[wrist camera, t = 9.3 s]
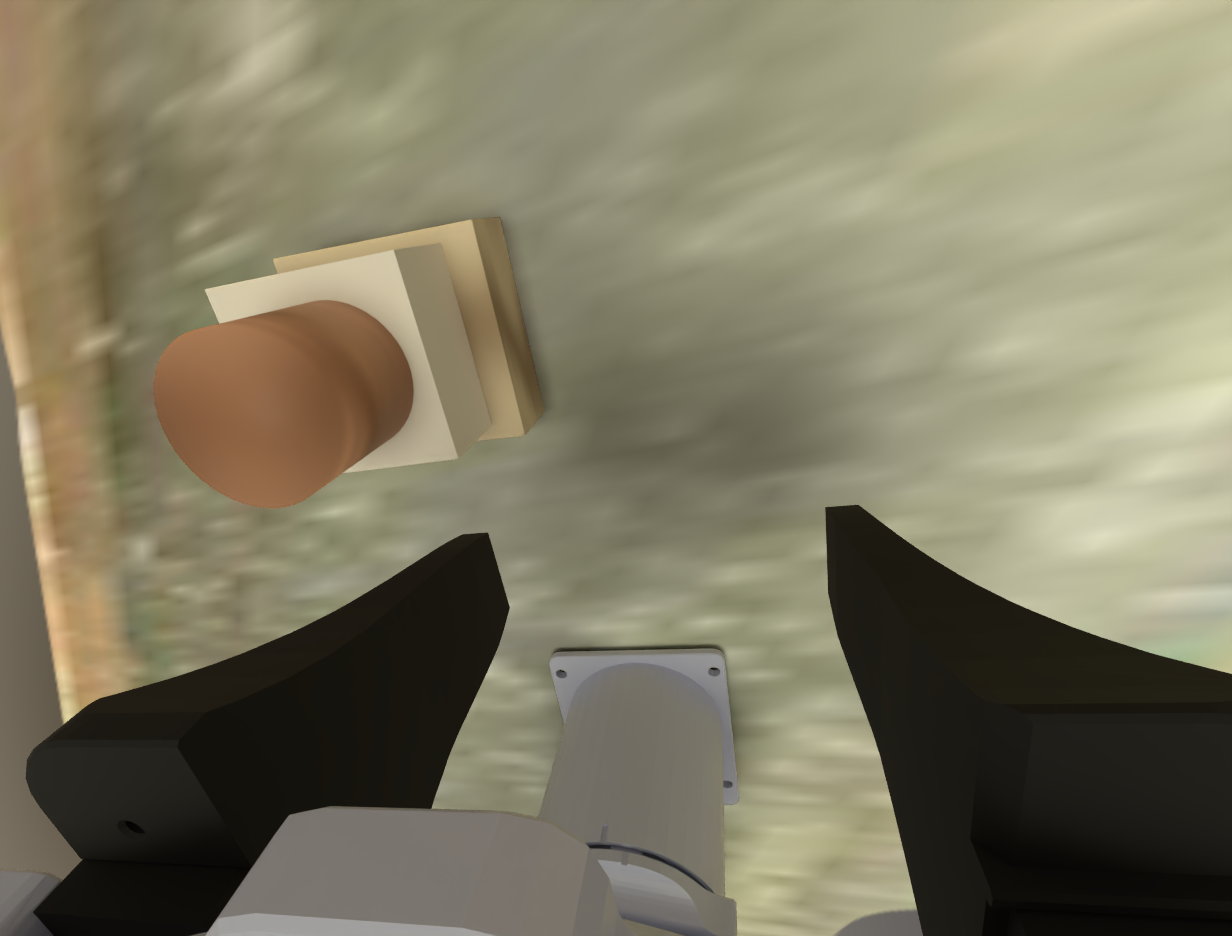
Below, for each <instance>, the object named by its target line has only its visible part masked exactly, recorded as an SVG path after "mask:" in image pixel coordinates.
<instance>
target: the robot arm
mask: <svg viewBox="0 0 1232 936" xmlns="http://www.w3.org/2000/svg"><path fill="white" fill-rule="evenodd" d="M825 509H826V539H827V569H828V594H829V598H830V603H831V608H832V612H833V617H834V622H835V626H836V630H837V635H838V638H839V641H840V644H841V646H842V649H843V652H844V655H845V658H846V660H847V663H848V666H849V669H850V671H851V674H852V677H853V680H854V682H855V685H856V688H857V691H858V693H859V696H860V699H861V701H862V704H863V707H864V710H865V712H866V715H867V718H868V721H869V723H870V726H871V729H872V732H873V734H874V738H875V741H876V744H877V747H878V750H879V754H880V757H881V761H882V765H883V769H884V773H885V777H886V781H887V785H888V788H889V792H890V796H891V800H892V804H893V808H894V813H895V817H896V821H897V825H898V829H899V833H900V838H901V842H902V846H903V850H904V854H905V858H906V863H907V867H908V871H909V876H910V880H911V884H912V889H913V893H914V898H915V902H916V906H917V911H918V915H919V920H920V924H921V928H922V933H923V936H1232V674H1229V673H1225V672H1221V671H1217V670H1213V669H1209V668H1206V667H1202V666H1198V665H1194V664H1190V663H1186V662H1182V661H1178V660H1174V659H1170V658H1167V657H1163V656H1159V655H1156V654H1152V653H1149V652H1145V651H1142V650H1139V649H1136V648H1133V647H1130V646H1127V645H1123V644H1120V643H1117V642H1114V641H1111V640H1108V639H1105V638H1101V637H1099V636H1096V635H1093V634H1090V633H1087V632H1085V631H1082V630H1079V629H1076V628H1073V627H1071V626H1068V625H1066V624H1063V623H1061V622H1058V621H1056V620H1053V619H1051V618H1048V617H1046V616H1043V615H1041V614H1038V613H1036V612H1033V611H1031V610H1029V609H1026V608H1024V607H1022V606H1020V605H1017V604H1015V603H1013V602H1011V601H1008V600H1006V599H1004V598H1002V597H1000V596H998V595H996V594H994V593H992V592H990V591H988V590H986V589H984V588H982V587H980V586H978V585H976V584H975V583H973V582H971V581H969V580H967V579H965V578H964V577H962V576H960V575H958V574H957V573H955V572H953V571H952V570H950V569H949V568H947V567H945V566H944V565H942V564H940V563H939V562H937V561H935V560H934V559H932V558H931V557H929V556H928V555H926V554H925V553H923V552H922V551H920V550H919V549H917V548H916V547H914V546H913V545H911V544H910V543H909V542H907V541H906V540H904V539H903V538H902V537H900V536H899V535H897V534H896V533H895V532H893V531H892V530H891V529H889V528H888V527H887V526H885V525H884V524H883V523H881V522H880V521H879V520H877V519H876V518H875V517H874V516H872V515H871V514H870V513H868V512H867V511H866V510H864V509H863V508H862V507H860V506H859V505H849V506H836V507H825ZM509 608H510V607H509V604H508V600H507V597H506V593H505V590H504V586H503V583H502V579H501V576H500V572H499V569H498V566H497V562H496V559H495V555H494V552H493V548H492V545H491V541H490V538H489V534H488V533H476V534H463V535H461V536H459V537H457V538H454V539H453V540H451V541H449V542H447V543H445V544H444V545H442V546H440V547H439V548H437V549H436V550H434V551H432V552H431V553H429V554H428V555H426V556H424V557H423V558H421V559H420V560H418V561H417V562H415V563H414V564H412V565H410V566H409V567H407V568H406V569H404V570H403V571H401V572H400V573H398V574H396V575H395V576H393V577H392V578H390V579H389V580H387V581H385V582H384V583H382V584H380V585H379V586H377V587H375V588H374V589H372V590H370V591H369V592H367V593H365V594H364V595H362V596H360V597H359V598H357V599H355V600H354V601H352V602H350V603H349V604H347V605H345V606H343V607H341V608H340V609H338V610H336V611H334V612H332V613H330V614H328V615H326V616H324V617H322V618H320V619H318V620H316V621H314V622H312V623H310V624H308V625H306V626H304V627H302V628H300V629H298V630H296V631H294V632H292V633H289V634H287V635H285V636H282V637H280V638H278V639H275V640H273V641H271V642H268V643H266V644H264V645H261V646H259V647H257V648H254V649H252V650H250V651H247V652H245V653H242V654H240V655H237V656H234V657H232V658H229V659H226V660H224V661H221V662H218V663H216V664H213V665H210V666H207V667H204V668H201V669H198V670H195V671H192V672H189V673H186V674H183V675H180V676H177V677H174V678H171V679H167V680H164V681H160V682H157V683H153V684H150V685H146V686H143V687H139V688H136V689H132V690H129V691H125V692H122V693H118V694H115V695H111V696H107V697H103V698H100V699H98V700H96V701H94V702H92V703H91V704H89V705H87V706H86V707H85V708H84V709H82V710H81V711H80V712H79V713H77V714H76V715H75V716H74V717H72V718H71V719H70V720H69V721H67V722H66V723H65V724H64V725H63V726H61V727H60V728H59V729H58V730H56V731H55V732H54V733H53V734H51V735H50V736H49V737H48V738H47V739H46V740H44V741H43V742H42V743H40V744H39V745H38V746H37V747H36V748H34V749H33V751H32V753H31V754H30V756H29V757H28V759H27V768H26V780H27V783H28V786H29V789H30V792H31V794H32V795H33V797H34V799H35V800H36V802H37V803H38V805H39V806H40V808H41V809H42V810H43V812H44V813H45V814H46V815H47V817H48V818H49V819H50V820H51V822H52V823H53V824H54V825H55V827H56V828H57V829H58V831H59V832H60V833H61V834H62V836H63V837H64V838H65V839H66V841H67V842H68V843H69V844H70V846H71V847H72V848H73V849H74V851H75V852H76V853H77V855H78V856H79V857H80V858H81V859H83V860H82V861H81V862H80V863H79V864H78V865H77V866H76V867H75V868H74V869H73V870H72V871H71V872H70V874H69V875H68V876H67V877H66V878H65V879H64V880H62V879H60V878H59V877H57V876H55V875H53V874H51V873H47V872H43V871H33V870H16V869H0V936H737V911H736V902H735V901H734V900H733V899H730V898H726V897H725V866H724V807H723V805H733V804H736V803H737V802H738V801H739V788H738V779H737V770H736V760H735V751H734V741H733V732H732V723H731V713H730V704H729V694H728V685H727V676H726V666H725V657H724V654H723V653H722V652H721V651H720V650H717V649H712V648H711V649H665V650H620V651H574V652H556V653H554V654H552V656H551V658H550V661H549V667H550V670H551V674H552V678H553V682H554V686H555V690H556V694H557V698H558V702H559V706H560V710H561V714H562V718H563V722H564V728H563V732H562V736H561V739H560V743H559V746H558V750H557V753H556V757H555V760H554V764H553V767H552V771H551V774H550V778H549V781H548V785H547V788H546V792H545V795H544V799H543V802H542V806H541V809H540V813H539V816H538V817H533V816H529V815H524V814H519V813H514V812H509V811H489V810H453V809H431V808H432V805H433V801H434V798H435V795H436V792H437V789H438V786H439V784H440V781H441V778H442V775H443V772H444V769H445V766H446V763H447V760H448V757H449V755H450V752H451V750H452V747H453V745H454V742H455V740H456V738H457V735H458V733H459V731H460V729H461V727H462V724H463V722H464V720H465V718H466V716H467V714H468V712H469V709H470V707H471V705H472V703H473V701H474V699H475V697H476V695H477V692H478V690H479V688H480V686H481V684H482V682H483V680H484V678H485V675H486V673H487V671H488V669H489V667H490V664H491V662H492V660H493V658H494V656H495V653H496V651H497V649H498V646H499V643H500V640H501V637H502V634H503V630H504V627H505V623H506V620H507V616H508V612H509ZM712 667H715V668H718V670H711V669H710V668H712ZM559 670H564V671H565V672H561V671H559ZM726 780H727V781H726Z"/></svg>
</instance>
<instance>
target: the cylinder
mask: <svg viewBox="0 0 1232 936" xmlns="http://www.w3.org/2000/svg"><path fill="white" fill-rule="evenodd" d="M413 392H414V391H413V380H412V375H411V370H410V367H409V364H408V361H407V359H406V357H405V355H404V352H403V351H402V349H401V347H400V346H399V344H398V342H397V341H396V340H395V338H394V337H393V336H392V334H391V333H390V332H389V331H388V330H387V329H386V328H385V327H384V326H383V325H382V324H381V323H380V322H379V321H378V320H376V319H375V318H374V317H372V316H371V315H369V314H368V313H367V312H365V311H363V310H361V309H359V308H357V307H355V306H352V305H350V304H347V303H343V302H339V301H331V300H318V301H313V302H308V303H304V304H300V305H296V306H291V307H287V308H283V309H279V310H275V311H270V312H266V313H262V314H258V315H254V316H249V317H245V318H241V319H237V320H233V321H229V322H224V323H220V324H216V325H212V326H208V327H203V328H199V329H195V330H192V331H190V332H187V333H185V334H183V335H181V336H180V337H178V338H176V339H175V340H174V341H173V342H172V343H171V344H170V345H169V346H168V347H167V348H166V350H165V351H164V352H163V354H162V356H161V358H160V360H159V362H158V365H157V368H156V371H155V377H154V400H155V406H156V410H157V414H158V418H159V420H160V423H161V426H162V428H163V430H164V432H165V434H166V436H167V438H168V440H169V442H170V444H171V445H172V447H173V448H174V450H175V452H176V453H177V454H178V455H179V457H180V458H181V459H182V461H183V462H184V463H185V464H186V465H187V466H188V467H189V469H190V470H191V471H192V472H193V473H195V474H196V475H197V476H198V477H199V478H200V479H201V480H202V481H204V482H205V483H206V484H208V485H209V486H210V487H212V488H213V489H215V490H216V491H218V492H220V493H221V494H223V495H225V496H227V497H229V498H231V499H233V500H236V501H238V502H241V503H244V504H247V505H251V506H255V507H262V508H282V507H287V506H291V505H295V504H297V503H299V502H302V501H304V500H305V499H307V498H308V497H310V496H311V495H313V494H314V493H315V492H317V491H318V490H320V489H321V488H322V487H324V486H325V485H327V484H328V483H329V482H331V481H332V480H334V479H335V478H336V477H338V476H339V475H341V474H342V473H343V472H345V471H346V470H348V469H349V468H350V467H352V466H353V465H355V464H356V463H357V462H359V461H360V460H362V459H363V458H364V457H366V456H367V455H369V454H370V453H371V452H373V451H374V450H376V449H377V448H378V447H380V446H381V445H383V444H384V443H385V442H387V441H388V440H390V439H391V438H392V437H394V436H395V435H396V434H397V433H398V432H399V431H400V430H401V428H402V427H403V426H404V424H405V423H406V421H407V419H408V417H409V414H410V411H411V408H412V403H413Z"/></svg>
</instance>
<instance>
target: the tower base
mask: <svg viewBox="0 0 1232 936" xmlns="http://www.w3.org/2000/svg"><path fill="white" fill-rule="evenodd" d="M437 243H441V245H442V248H443V252H444V255H445V259H446V262H447V266H448V270H449V273H450V277H451V280H452V284H453V287H454V291H455V295H456V298H457V302H458V305H459V309H460V312H461V316H462V320H463V323H464V327H465V330H466V334H467V337H468V341H469V345H470V348H471V352H472V355H473V359H474V362H475V366H476V369H477V373H478V377H479V380H480V384H481V387H482V391H483V394H484V398H485V402H486V405H487V409H488V412H489V416H490V419H491V423H492V426H491V427H490V428H489V429H488V430H487V431H486V432H485V433H484V434H483V435H482V436H481V437H480V438H479V439H478V440H477V441H482V440H491V439H499V438H508V437H516V436H525V435H526V434H527V432H528V431H529V430H530V429H531V427H532V426H533V425H534V424H535V422H536V421H537V420H538V419H539V417H540V416H541V415H542V414H543V412H544V407H543V402H542V398H541V394H540V389H539V385H538V381H537V376H536V372H535V368H534V363H533V359H532V355H531V350H530V346H529V342H528V337H527V333H526V329H525V324H524V320H523V316H522V311H521V307H520V302H519V298H518V294H517V289H516V285H515V281H514V276H513V272H512V268H511V263H510V259H509V255H508V250H507V246H506V242H505V237H504V233H503V229H502V224H501V220H500V217H497V218H484V219H471V220H466V221H461V222H456V223H451V224H446V225H441V226H436V227H431V228H426V229H421V230H416V231H411V232H406V233H401V234H396V235H391V236H386V237H381V238H376V239H371V240H366V241H361V242H356V243H351V244H346V245H341V246H336V247H331V248H326V249H321V250H316V251H311V252H306V253H301V254H296V255H291V256H286V257H281V258H276V259H273V261H274V264H275V267H276V269H277V272H278V274H281V273H285V272H290V271H295V270H300V269H304V268H309V267H314V266H319V265H323V264H328V263H333V262H338V261H343V260H347V259H352V258H357V257H362V256H366V255H371V254H376V253H381V252H386V251H390V250H396V249H403V248H410V247H417V246H423V245H430V244H437Z"/></svg>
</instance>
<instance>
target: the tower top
mask: <svg viewBox="0 0 1232 936" xmlns="http://www.w3.org/2000/svg"><path fill="white" fill-rule="evenodd" d="M205 291H206V294H207V296H208V298H209V301H210V303H211V305H212V307H213V310H214V312H215V314H216V317H217V319H218V321H219V324H220V323H224V322H229V321H233V320H237V319H241V318H245V317H249V316H254V315H258V314H262V313H266V312H270V311H275V310H279V309H283V308H287V307H291V306H296V305H300V304H304V303H308V302H313V301H318V300H331V301H339V302H343V303H347V304H350V305H352V306H355V307H357V308H359V309H361V310H363V311H365V312H367V313H368V314H369V315H371V316H372V317H374V318H375V319H376V320H378V321H379V322H380V323H381V324H382V325H383V326H384V327H385V328H386V329H387V330H388V331H389V332H390V333H391V334H392V336H393V337H394V338H395V340H396V341H397V342H398V344H399V346H400V347H401V349H402V351H403V352H404V355H405V357H406V359H407V361H408V364H409V367H410V370H411V375H412V380H413V391H414V392H413V403H412V408H411V411H410V414H409V417H408V419H407V421H406V423H405V424H404V426H403V427H402V428H401V430H400V431H399V432H398V433H397V434H396V435H395V436H394V437H392V438H391V439H390V440H388V441H387V442H385V443H384V444H383V445H381V446H380V447H378V448H377V449H376V450H374V451H373V452H371V453H370V454H369V455H367V456H366V457H364V458H363V459H362V460H360V461H359V462H357V463H356V464H355V465H353V466H352V467H350V468H349V469H348V470H346V471H345V472H343V473H348V472H356V471H364V470H372V469H380V468H388V467H396V466H404V465H413V464H421V463H429V462H437V461H445V460H453V459H459V458H460V457H461V456H462V455H463V454H464V453H465V452H466V451H467V450H468V449H469V448H470V447H471V446H472V445H473V444H474V443H475V442H476V441H477V440H478V439H479V438H480V437H481V436H482V435H483V434H484V433H485V432H486V431H487V430H488V429H489V428H490V427H491V426H492V423H491V419H490V416H489V412H488V409H487V405H486V402H485V398H484V394H483V391H482V387H481V384H480V380H479V377H478V373H477V369H476V366H475V362H474V359H473V355H472V352H471V348H470V345H469V341H468V337H467V334H466V330H465V327H464V323H463V320H462V316H461V312H460V309H459V305H458V302H457V298H456V295H455V291H454V287H453V284H452V280H451V277H450V273H449V270H448V266H447V262H446V259H445V255H444V252H443V248H442V245H441V243H437V244H430V245H423V246H417V247H410V248H403V249H396V250H390V251H386V252H381V253H376V254H371V255H366V256H362V257H357V258H352V259H347V260H343V261H338V262H333V263H328V264H323V265H319V266H314V267H309V268H304V269H300V270H295V271H290V272H285V273H281V274H276V275H271V276H266V277H261V278H257V279H252V280H247V281H242V282H238V283H233V284H228V285H223V286H218V287H214V288H209V289H205Z"/></svg>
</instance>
